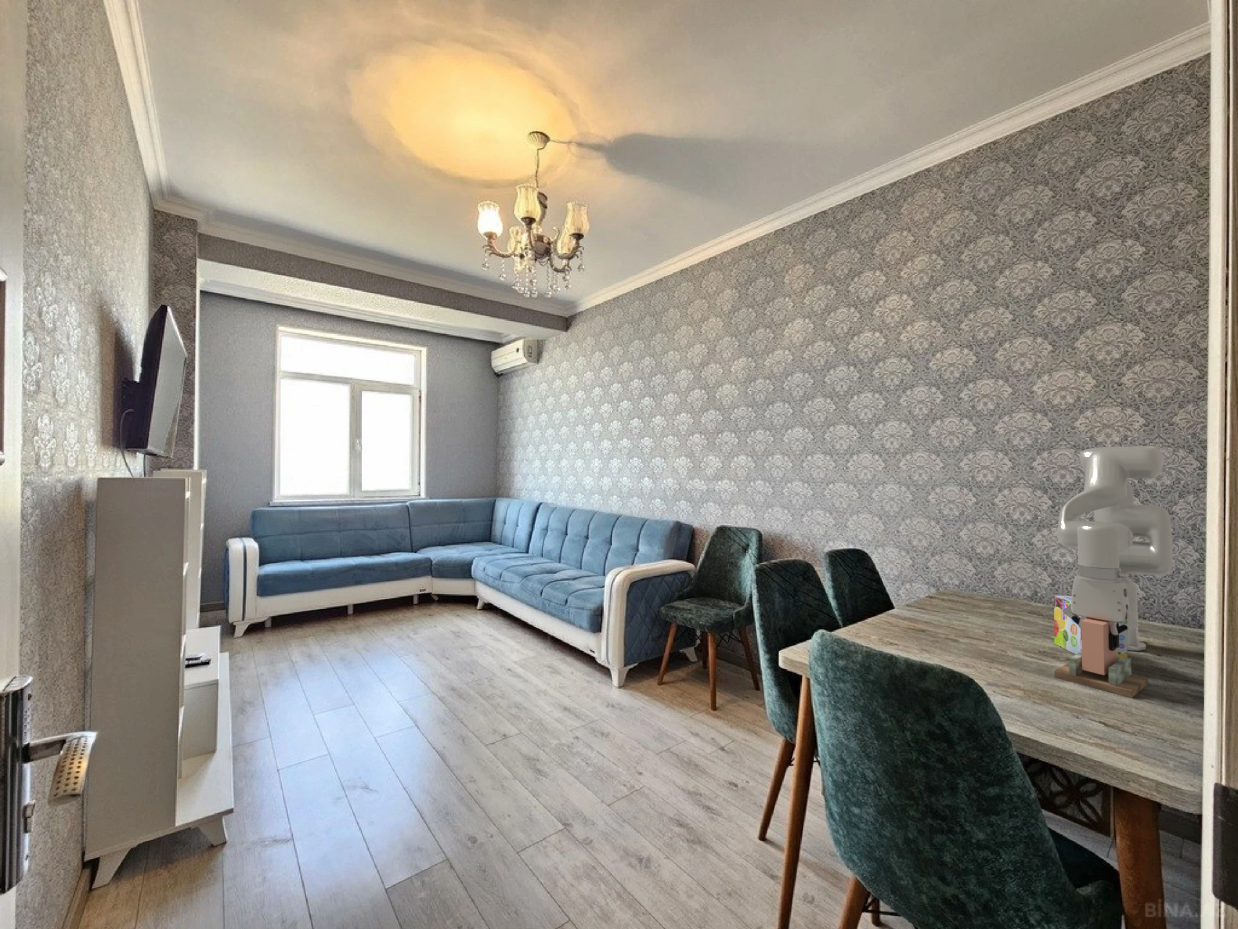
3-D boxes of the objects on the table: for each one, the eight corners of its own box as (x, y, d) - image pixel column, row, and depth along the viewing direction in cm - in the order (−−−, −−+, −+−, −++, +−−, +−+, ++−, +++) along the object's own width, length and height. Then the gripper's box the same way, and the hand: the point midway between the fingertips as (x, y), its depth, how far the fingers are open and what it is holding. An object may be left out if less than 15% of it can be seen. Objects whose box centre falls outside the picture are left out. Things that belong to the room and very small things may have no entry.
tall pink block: (1096, 660, 129) (1095, 614, 129) (1117, 665, 125) (1116, 618, 126) (1082, 669, 123) (1081, 620, 123) (1104, 675, 119) (1103, 625, 120)
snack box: (1130, 672, 129) (1129, 614, 130) (1105, 670, 130) (1104, 613, 131) (1073, 645, 150) (1072, 595, 150) (1052, 643, 151) (1051, 594, 152)
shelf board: (1073, 665, 134) (1073, 645, 134) (1148, 684, 122) (1147, 661, 122) (1054, 677, 126) (1054, 655, 126) (1131, 697, 114) (1131, 673, 115)
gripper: (1150, 577, 120) (1151, 654, 119) (1061, 567, 134) (1062, 635, 133) (1141, 581, 116) (1143, 660, 115) (1050, 569, 130) (1051, 640, 129)
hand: (1099, 646), depth 124 cm, fingers closed on tall pink block, 4 cm apart
